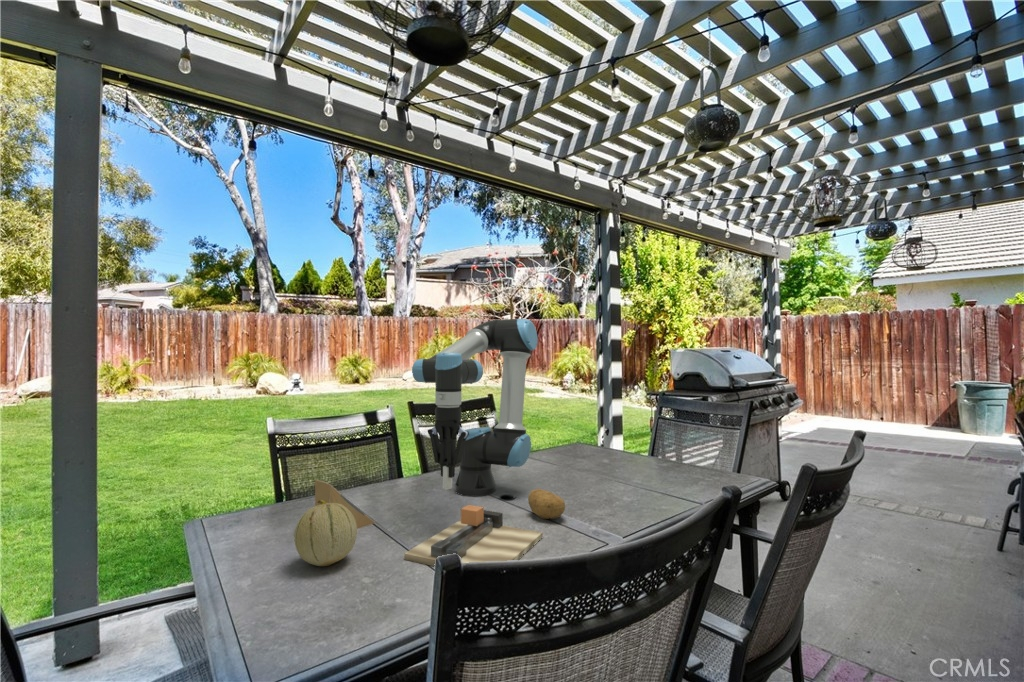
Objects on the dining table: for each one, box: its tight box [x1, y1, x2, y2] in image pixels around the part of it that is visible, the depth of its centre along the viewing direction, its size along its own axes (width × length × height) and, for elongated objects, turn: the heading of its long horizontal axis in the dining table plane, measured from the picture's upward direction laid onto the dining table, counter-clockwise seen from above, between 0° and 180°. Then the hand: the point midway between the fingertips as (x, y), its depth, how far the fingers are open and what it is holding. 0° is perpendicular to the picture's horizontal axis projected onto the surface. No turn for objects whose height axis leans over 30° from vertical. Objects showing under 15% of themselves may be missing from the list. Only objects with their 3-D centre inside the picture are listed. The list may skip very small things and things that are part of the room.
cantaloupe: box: [293, 500, 358, 567], centre depth 121 cm, size 15×15×15 cm
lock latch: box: [460, 504, 485, 526], centre depth 138 cm, size 4×5×4 cm
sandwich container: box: [314, 479, 376, 530], centre depth 146 cm, size 9×15×15 cm, turn 139°
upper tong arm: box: [446, 517, 493, 558], centre depth 130 cm, size 24×4×3 cm, turn 156°
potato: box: [528, 488, 566, 520], centre depth 154 cm, size 10×14×8 cm
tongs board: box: [403, 509, 544, 567], centre depth 130 cm, size 28×26×5 cm
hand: (447, 488), depth 141 cm, fingers closed
